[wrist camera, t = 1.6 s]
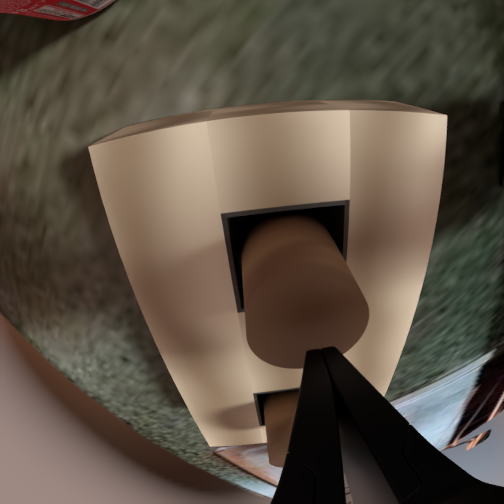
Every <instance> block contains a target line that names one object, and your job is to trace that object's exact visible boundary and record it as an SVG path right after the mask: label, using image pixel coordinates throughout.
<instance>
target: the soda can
mask: <svg viewBox="0 0 504 504" xmlns="http://www.w3.org/2000/svg"><path fill="white" fill-rule="evenodd" d="M114 1H115V0H0V13H9V14H18V15H25V16H32V17H39V18H45V19H51V20H58V21H68V20H75V19H79V18H83V17H86V16H89V15H91V14H94V13H96V12H98V11H100V10H102V9H103V8H105V7H107V6H108V5H110V4H111V3H113V2H114Z"/></svg>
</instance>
